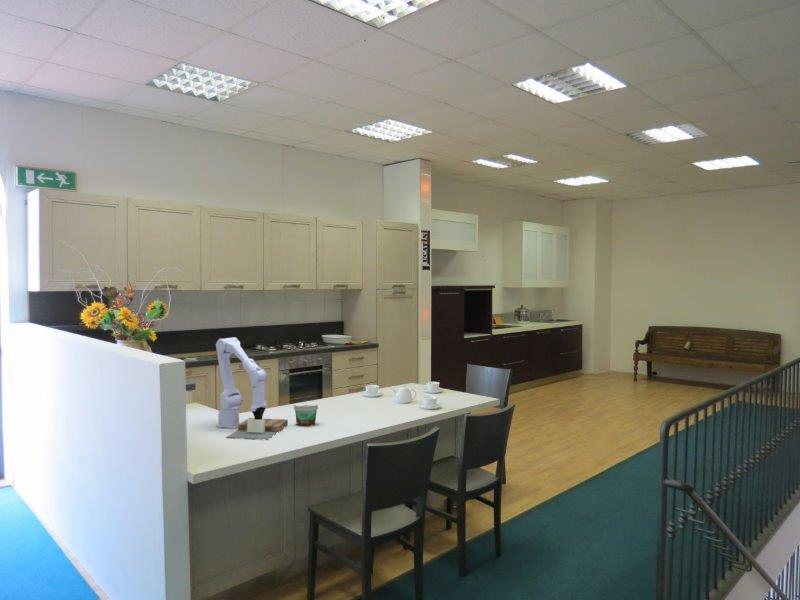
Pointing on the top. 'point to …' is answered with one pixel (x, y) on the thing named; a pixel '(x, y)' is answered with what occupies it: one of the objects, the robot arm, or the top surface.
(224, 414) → the robot arm
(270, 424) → the board
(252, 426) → the tile
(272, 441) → the top surface
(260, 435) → the mat
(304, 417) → the food container
